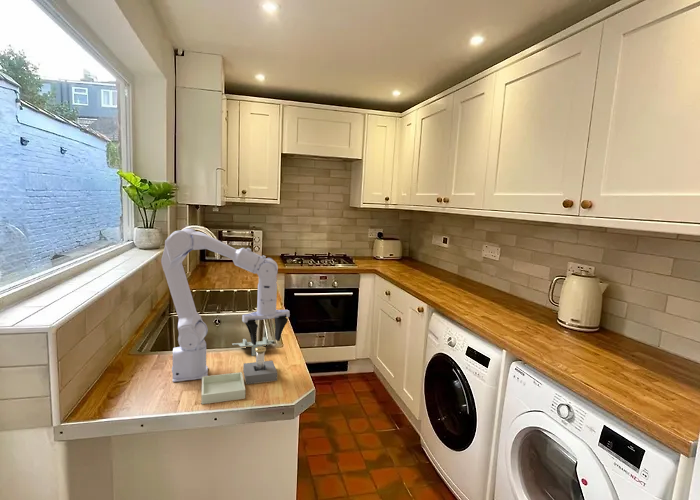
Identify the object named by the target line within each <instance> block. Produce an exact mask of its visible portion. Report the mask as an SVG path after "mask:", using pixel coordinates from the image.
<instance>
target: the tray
mask: <svg viewBox="0 0 700 500" xmlns="http://www.w3.org/2000/svg"><path fill="white" fill-rule="evenodd" d="M244 380H245V379H244V374H243V372H242V371H240V372H239V371H238V372H232V373H223V374H212V375H208V376H202V379H201V396H200V397H201V405H206V404H208V405H209V404H212V403H213V404H215V403H222V402H230V401H235V400H242V399H243V400H244V399H246V387H245V381H244Z"/></svg>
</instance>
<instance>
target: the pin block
mask: <svg viewBox="0 0 700 500" xmlns="http://www.w3.org/2000/svg"><path fill="white" fill-rule="evenodd" d="M242 367H243V369H242V371H243V372H242V373H243V377H244V380H245V381H244V382H245V384H246V385H252V384H253V385H254V384H259V383H261V384H262V383H267V382H269V383H270V382H274V381H275V382H276V381H277V382H278V371H277V369H276V366H275V364H274V361H273V360H264V370H261V371H256V361H254V362H247V363H246V362H245V363H243V366H242Z"/></svg>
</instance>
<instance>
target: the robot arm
mask: <svg viewBox="0 0 700 500" xmlns="http://www.w3.org/2000/svg"><path fill="white" fill-rule="evenodd" d="M198 250H208V251H210V252H213V253H215V254H218V255H220V256H223V257H225V258H228V259H230V260H232V262H233V264H234V266H236V267H238V268H240V269H243V270H245V271H247V272H249V273H251V274H256V275H257V276H258V283H257V304H256V311H254V312H249V313H245V314H242V315H241V321H242V322H243V323H244V324H245V326H246V328H247V329H248V333H249V337H250V340H251V341H250V342H251V343H252V344H253V345H256V342H257V332H258V327H259V325H258V324H257V321H261V320H262V321H264V320H270V319H274V328H275V329H274V340H276V341H277V342H280V340H281V336H282V333H283V331H284V329H285V327H286V325H287V324H288V320H289V319H288V318H290V315H291V314H290V310H288V309H277V298H278V296H277V295H278V283H277V282H278V277H277V276H278V272H279V271H278V270H279V266H278V263H277V261H275V260H274V259H273V258H272V257H267V256H266V255H263V254H262V255H260V254H258V253H256V252H254V251H252V248H250V247H247V248H245V247H241V248H238V249H236V248H235V247H232V246H230V245H229V244H227V243H225V242H224V241H223V242H222V241H221V240H219V239H217V238H215V237H212V236H211V235H209V234H207V233H204V232H202V231H199V230H198V231H196V230H195V229H194V228H189V227H187V228H184V229H183V228H182V229H181V230H174V231H173V232H172V233H170V234H169V236H167V238H166V239H165V241H164V248H163V253H162V255H161V260H160V261H161V267H162V270H163V273H164V276H165V279H166V282H167V285H168V288H169V292H170V295H171V296H170V297H171V298H172V303H173V304H174V308H175V311H176V314H177V318H178V322H177V330H178V337H177V341H178V342H177V343H178V345H179V346H177V347H176V346H175V347H173V348H172V366H171V373H172V382H173V383H176V382H183V381H184V382H185V381H193V380H202V376H209V375H208V374H209V371H208V368H209V367H208V365H207V342H206V341H205V337H206V336H207V335H208V326H207V324H206V322H204V321H203V318H202V316H201V314H200V313H198V311H197V308H196V305H195V301H194V298H193V295H192V291H191V289H190V285H189V282H188V278H187V275H186V272H185V269H184V266H183V262H184V260H185V259H186V257H187V255H188V254H189V253H190V252H191V251H198ZM266 257H267V258H266Z"/></svg>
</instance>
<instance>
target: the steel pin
mask: <svg viewBox="0 0 700 500" xmlns="http://www.w3.org/2000/svg"><path fill="white" fill-rule="evenodd" d="M255 352H256V357H255V362H256V371H261V370H264V361H265V353H266V352H267V347H265V346H264V345H262V346H259V347H256V348H255Z"/></svg>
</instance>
